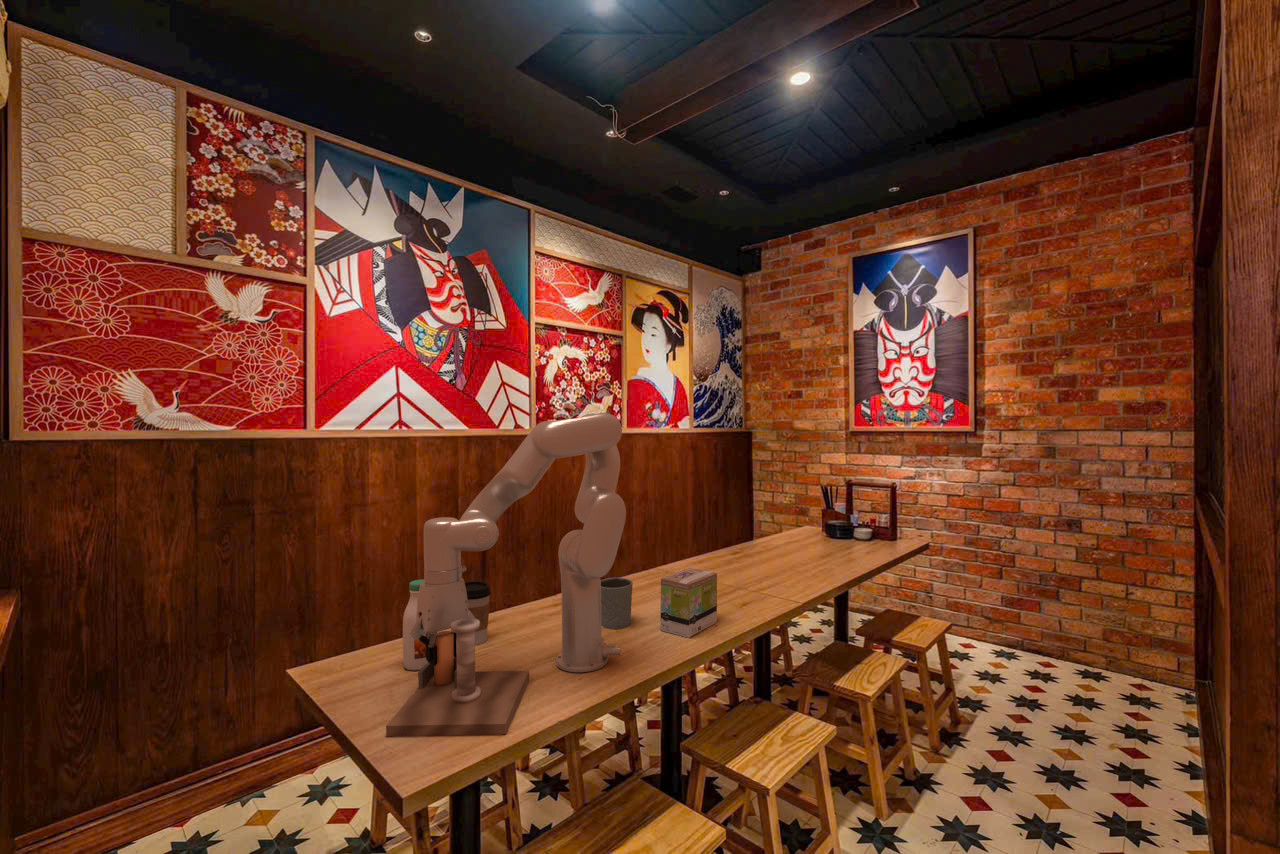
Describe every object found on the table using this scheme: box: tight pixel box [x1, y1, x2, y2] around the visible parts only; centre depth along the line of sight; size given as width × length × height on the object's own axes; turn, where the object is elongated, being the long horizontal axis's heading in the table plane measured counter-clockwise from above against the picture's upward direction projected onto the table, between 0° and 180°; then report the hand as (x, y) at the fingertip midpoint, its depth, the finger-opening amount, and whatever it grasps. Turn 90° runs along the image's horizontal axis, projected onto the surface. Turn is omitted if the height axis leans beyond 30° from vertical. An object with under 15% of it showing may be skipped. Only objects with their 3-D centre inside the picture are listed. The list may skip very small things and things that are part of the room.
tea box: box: [659, 567, 718, 639], centre depth 154 cm, size 15×10×15 cm, turn 143°
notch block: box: [417, 657, 457, 689], centre depth 119 cm, size 8×8×4 cm
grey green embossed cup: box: [600, 577, 634, 630], centre depth 157 cm, size 10×10×12 cm
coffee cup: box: [464, 580, 492, 646], centre depth 146 cm, size 8×8×15 cm
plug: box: [434, 630, 454, 685], centre depth 118 cm, size 4×4×10 cm
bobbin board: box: [385, 618, 530, 738], centre depth 112 cm, size 22×22×17 cm
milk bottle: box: [402, 578, 428, 671], centre depth 132 cm, size 8×8×20 cm
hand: (444, 658), depth 118 cm, fingers open, 4 cm apart
